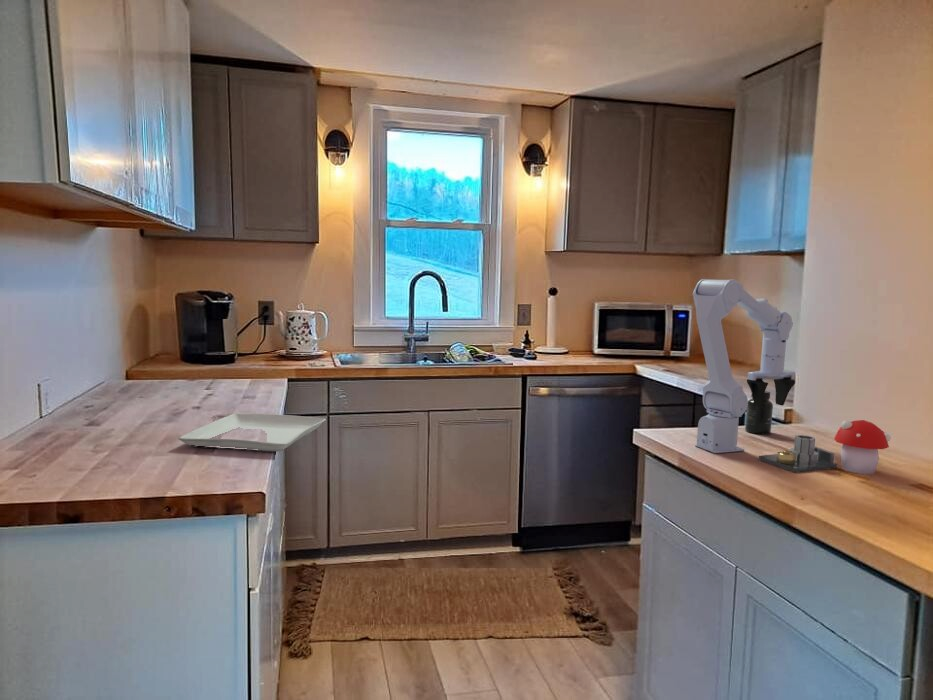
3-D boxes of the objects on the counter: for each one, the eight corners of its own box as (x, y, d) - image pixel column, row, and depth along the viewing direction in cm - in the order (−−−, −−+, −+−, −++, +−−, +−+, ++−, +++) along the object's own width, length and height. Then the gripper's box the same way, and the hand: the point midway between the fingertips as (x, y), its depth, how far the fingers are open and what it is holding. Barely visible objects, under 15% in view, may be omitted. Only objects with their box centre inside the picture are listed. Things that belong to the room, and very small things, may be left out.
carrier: (794, 472, 144) (795, 455, 143) (758, 459, 154) (759, 443, 153) (837, 467, 148) (838, 451, 148) (799, 455, 158) (801, 440, 158)
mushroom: (878, 466, 151) (883, 417, 149) (892, 480, 140) (898, 427, 139) (828, 461, 154) (832, 413, 153) (838, 474, 144) (843, 422, 142)
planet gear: (804, 464, 147) (806, 441, 147) (783, 457, 153) (785, 434, 152) (823, 462, 149) (825, 439, 149) (802, 455, 155) (804, 433, 154)
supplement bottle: (773, 435, 179) (777, 394, 178) (747, 433, 180) (751, 392, 179) (767, 430, 186) (770, 389, 184) (742, 428, 187) (745, 388, 186)
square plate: (233, 425, 177) (233, 411, 176) (327, 430, 173) (327, 417, 173) (176, 451, 150) (176, 435, 150) (286, 458, 146) (285, 442, 146)
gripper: (763, 358, 164) (759, 409, 165) (805, 357, 168) (801, 407, 170) (743, 355, 170) (739, 404, 172) (784, 354, 175) (780, 402, 177)
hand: (768, 405), depth 171 cm, fingers open, 7 cm apart
